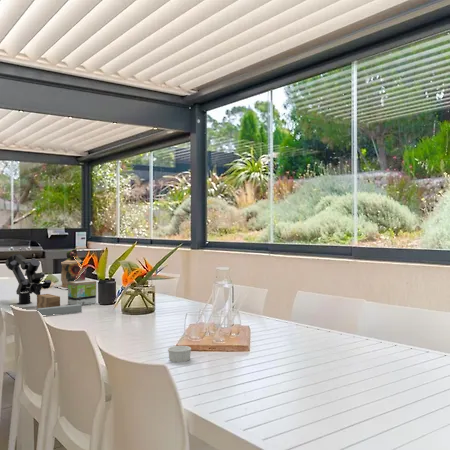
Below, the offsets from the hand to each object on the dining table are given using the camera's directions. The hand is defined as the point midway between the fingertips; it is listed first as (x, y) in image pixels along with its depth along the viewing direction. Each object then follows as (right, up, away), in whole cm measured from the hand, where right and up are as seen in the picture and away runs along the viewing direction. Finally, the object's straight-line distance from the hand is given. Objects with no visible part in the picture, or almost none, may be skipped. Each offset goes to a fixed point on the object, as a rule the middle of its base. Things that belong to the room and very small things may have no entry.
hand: (39, 295), depth 295 cm
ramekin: (+97, -8, -112) cm, 148 cm away
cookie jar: (-9, -7, +96) cm, 97 cm away
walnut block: (+9, -8, -9) cm, 15 cm away
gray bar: (+19, -8, -20) cm, 29 cm away
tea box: (+22, -8, +15) cm, 28 cm away
